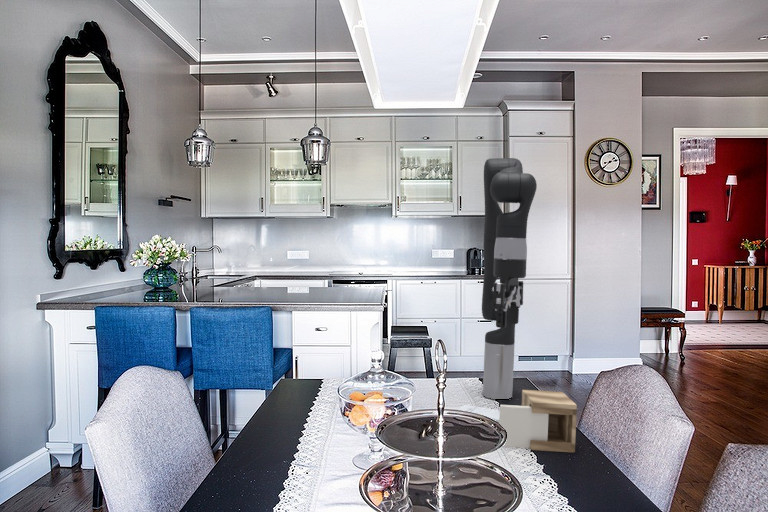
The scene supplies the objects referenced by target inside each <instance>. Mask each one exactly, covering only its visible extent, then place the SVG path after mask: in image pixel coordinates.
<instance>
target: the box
mask: <svg viewBox="0 0 768 512" xmlns="http://www.w3.org/2000/svg"><path fill="white" fill-rule="evenodd" d="M520 406H532V413H543V414H549V417H548V439H547V441H538V440H531V441H530V448H529V449H530V451H542V452H543V451H544V452H557V453H558V452H560V453H561V452H562V453H576V437H577V436H576V434H577V433H576V432H577V431H576V430H577V411H578V410H577V409H578V405H577V403H575V402H574V401H573V400H572V399H571V398H570V397H569V396H567V395H566V394H565V393H564V392H563V391H554V390H553V391H552V390H537V389H536V390H535V389H534V390H533V389H521V405H520Z"/></svg>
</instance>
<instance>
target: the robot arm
mask: <svg viewBox="0 0 768 512" xmlns="http://www.w3.org/2000/svg"><path fill="white" fill-rule="evenodd" d="M537 183H538V182H537V180H536V178H535V177H534V176H533V174H531V173H526V172H525V173H524V170H523V163H522V162H521V161H520V159H518V158H515V157H502V158H501V157H500V158H497V157H496V158H494V157H493V158H487V159H486V160H485V161H484V166H483V195H484V225H483V226H484V227H483V284H482V298H481V314H482V318H483V319H484V320H485V321H493V322H495V326H496V328H497V329H492V330H489V331H487V332H486V333H485V336H484V358H483V359H484V360H483V362H484V363H483V375H482V376H483V380H482V396H483V397H484V396H485V397H484V398H487V399H490V398H491V399H490V400H495V399H509V398H511V397H512V398H513V389H514V387H513V385H514V367H515V366H514V363H515V361H514V360H515V344H516V343H515V338H516V337H515V336H516V333H515V332H516V325H517V324H519V315H520V308H521V306H523V304H524V281H523V280H522V281H521V280H519V279H524V278H526V277H527V256H528V245H527V233H528V232H527V230H528V228H527V227H528V218H529V214H530V210H531V206H532V204H533V201H534V199H535V198H534V197H535V195H536V192H537V187H538V186H537ZM499 203H500V204H503V203H504V204H519V206H518V208H517V209H516V210H513V211H510V212H509V211H508V212H503V211H502V209H501V207H500V204H499ZM498 278H499V282H497V279H498ZM509 400H510V399H509Z"/></svg>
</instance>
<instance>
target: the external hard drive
mask: <svg viewBox="0 0 768 512" xmlns="http://www.w3.org/2000/svg"><path fill="white" fill-rule="evenodd" d="M457 410H464V411H470V412H474V413H478V414H482V415H485V416H487V417H489V418H492V419H494V420H496V421H497V422H499V418H500V410H498V409H492V408H486V407H480V406H476V405H471V404H470V405H468V404H463V405H462V406H460V407H458V409H457Z"/></svg>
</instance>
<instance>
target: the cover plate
mask: <svg viewBox="0 0 768 512" xmlns="http://www.w3.org/2000/svg"><path fill="white" fill-rule="evenodd" d="M499 411H500V418H499V423H498V425H499V424H500V425H501V426H502V427H503V428H504V429H505V430H506V432H507V441H506V443H505V445H504V446H503V447H505V448H522V449H523V448H524V449H530V441H531V440H538V441H547V439H548V417H549V414H543V413H532V406H521V405H516V404H515V405H513V404H500V405H499Z"/></svg>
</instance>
